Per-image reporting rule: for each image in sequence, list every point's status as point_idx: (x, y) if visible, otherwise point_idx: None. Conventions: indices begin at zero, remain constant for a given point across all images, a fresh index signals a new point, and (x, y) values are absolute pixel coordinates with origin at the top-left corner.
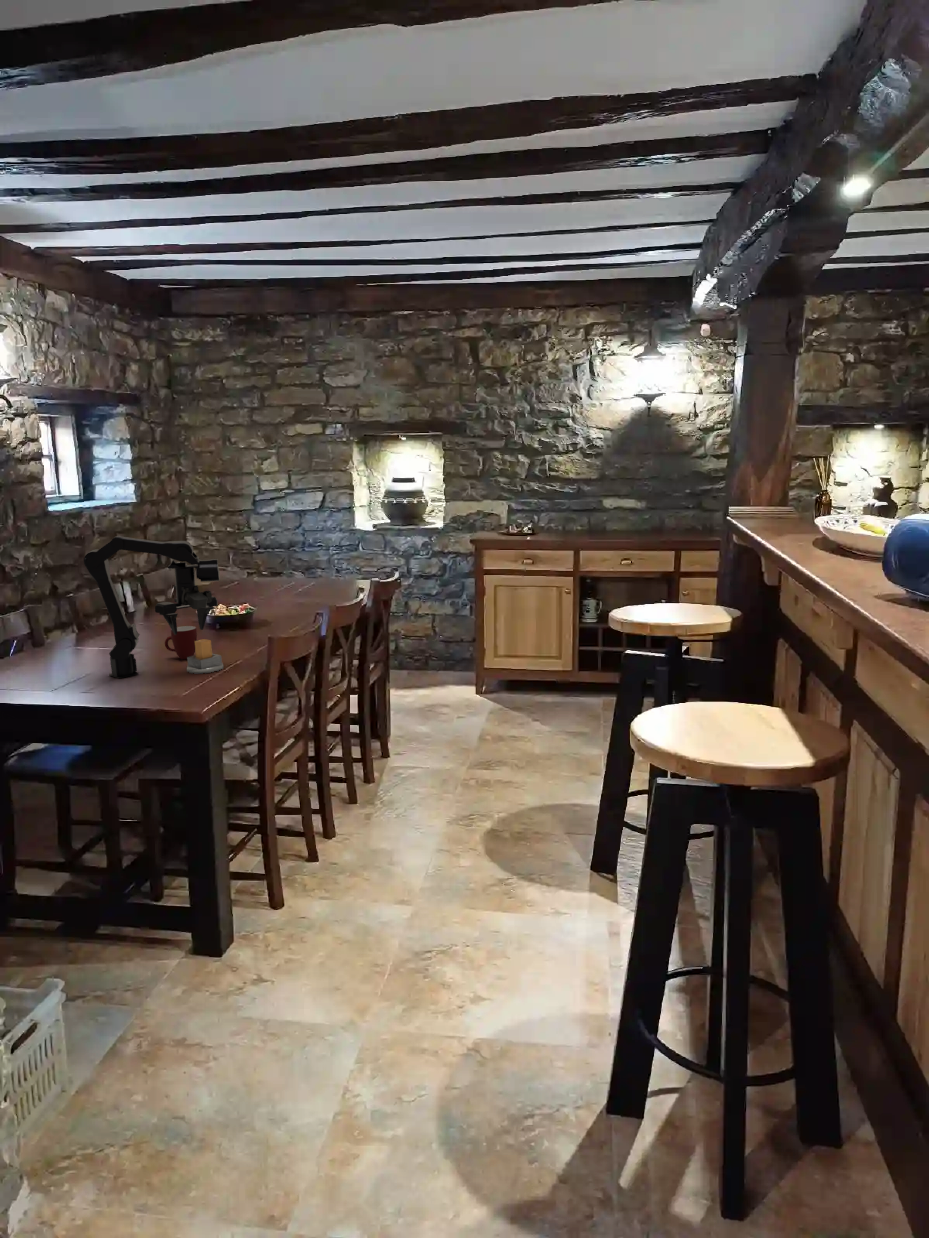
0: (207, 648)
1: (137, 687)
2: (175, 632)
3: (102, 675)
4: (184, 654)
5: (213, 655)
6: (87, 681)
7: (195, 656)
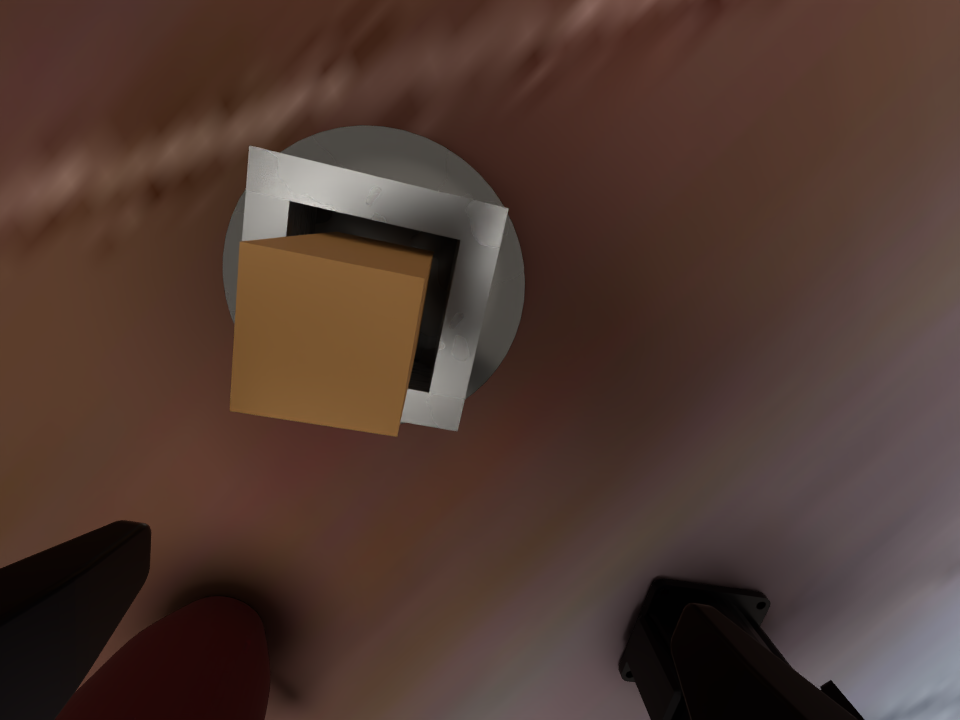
0: (345, 249)
1: (910, 365)
2: (746, 633)
3: None
4: (250, 630)
5: None
6: None
7: None
